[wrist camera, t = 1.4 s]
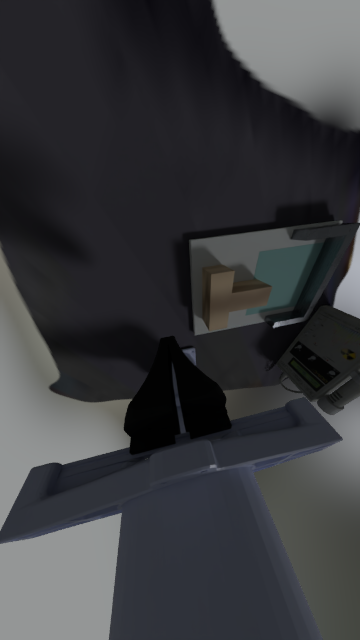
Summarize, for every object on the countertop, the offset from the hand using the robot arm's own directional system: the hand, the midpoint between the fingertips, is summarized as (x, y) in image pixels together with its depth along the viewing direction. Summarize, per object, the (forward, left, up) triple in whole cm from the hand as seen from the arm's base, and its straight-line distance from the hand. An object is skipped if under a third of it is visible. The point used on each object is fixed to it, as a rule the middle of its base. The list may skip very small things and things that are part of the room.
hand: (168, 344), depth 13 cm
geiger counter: (-20, -33, -10) cm, 40 cm away
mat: (0, -16, -10) cm, 19 cm away
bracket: (0, -23, -9) cm, 25 cm away
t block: (0, -11, -9) cm, 14 cm away
